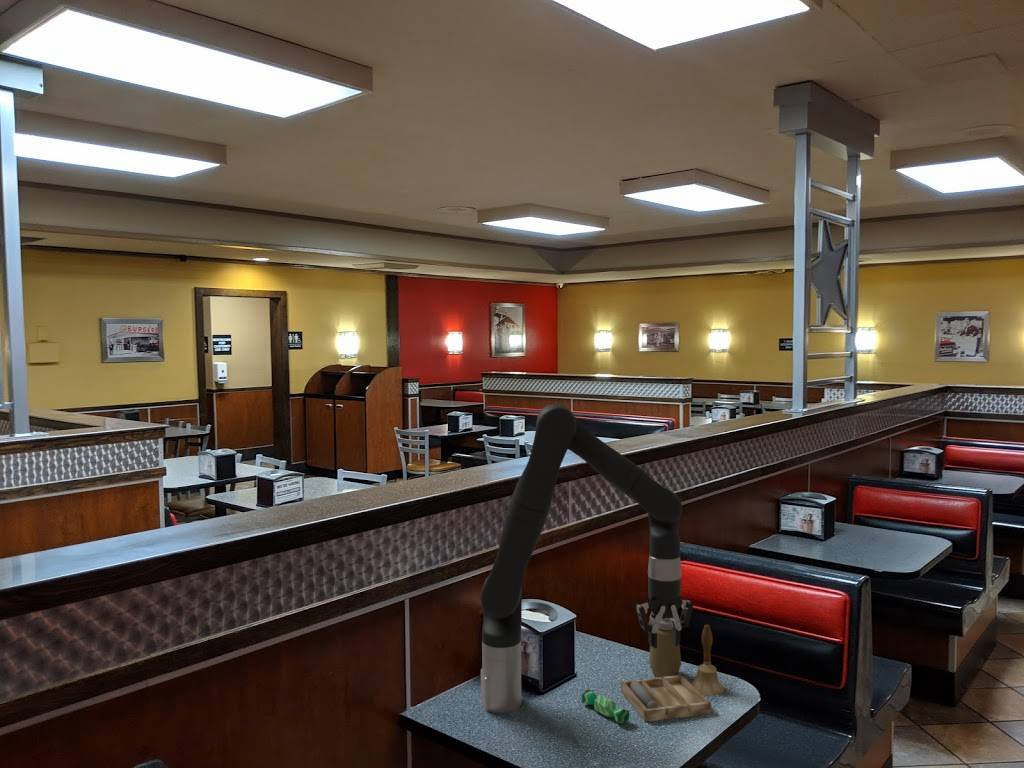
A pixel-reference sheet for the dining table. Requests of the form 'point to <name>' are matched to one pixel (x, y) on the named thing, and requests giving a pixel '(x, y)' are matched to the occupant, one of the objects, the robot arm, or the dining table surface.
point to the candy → (605, 706)
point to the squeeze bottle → (665, 652)
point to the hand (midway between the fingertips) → (664, 645)
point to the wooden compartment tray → (667, 698)
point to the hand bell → (707, 669)
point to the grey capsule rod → (643, 695)
